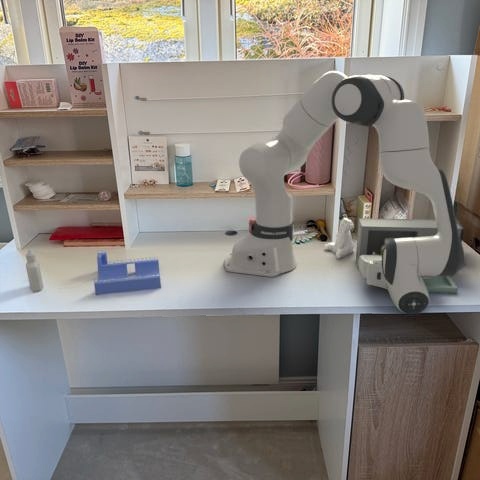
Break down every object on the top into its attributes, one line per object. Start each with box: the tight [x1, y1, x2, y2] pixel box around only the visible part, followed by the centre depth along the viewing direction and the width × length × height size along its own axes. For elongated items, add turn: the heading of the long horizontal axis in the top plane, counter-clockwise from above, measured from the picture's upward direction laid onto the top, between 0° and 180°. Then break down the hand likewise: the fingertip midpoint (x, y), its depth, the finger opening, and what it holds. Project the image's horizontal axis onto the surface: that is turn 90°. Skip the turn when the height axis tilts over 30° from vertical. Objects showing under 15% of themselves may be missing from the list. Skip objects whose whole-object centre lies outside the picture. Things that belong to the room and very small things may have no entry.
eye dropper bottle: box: [25, 248, 44, 293], centre depth 132 cm, size 4×6×12 cm
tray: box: [422, 276, 458, 295], centre depth 132 cm, size 11×11×2 cm
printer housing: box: [355, 217, 462, 270], centre depth 142 cm, size 28×8×14 cm, turn 83°
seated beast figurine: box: [324, 217, 355, 259], centre depth 154 cm, size 10×9×12 cm
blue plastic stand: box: [93, 250, 162, 296], centre depth 138 cm, size 18×16×7 cm
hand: (391, 254), depth 138 cm, fingers open, 8 cm apart
